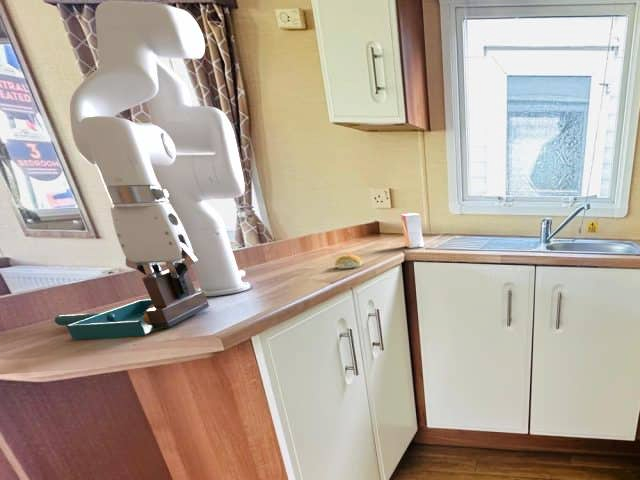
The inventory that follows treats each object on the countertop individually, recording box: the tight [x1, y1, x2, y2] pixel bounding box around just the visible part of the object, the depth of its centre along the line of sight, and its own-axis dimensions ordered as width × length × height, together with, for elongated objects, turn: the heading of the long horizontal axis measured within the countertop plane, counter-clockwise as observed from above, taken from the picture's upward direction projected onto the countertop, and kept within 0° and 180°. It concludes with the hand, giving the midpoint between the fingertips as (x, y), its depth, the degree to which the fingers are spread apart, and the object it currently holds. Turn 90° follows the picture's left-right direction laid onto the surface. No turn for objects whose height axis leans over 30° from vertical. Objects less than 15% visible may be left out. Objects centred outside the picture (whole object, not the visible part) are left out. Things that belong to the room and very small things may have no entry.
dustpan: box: [53, 299, 161, 341], centre depth 85 cm, size 22×19×3 cm
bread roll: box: [334, 253, 363, 270], centre depth 139 cm, size 8×9×4 cm
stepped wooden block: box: [141, 269, 210, 329], centre depth 84 cm, size 14×3×9 cm, turn 6°
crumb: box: [143, 313, 151, 325], centre depth 82 cm, size 3×3×3 cm
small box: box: [400, 213, 425, 249], centre depth 179 cm, size 8×6×13 cm
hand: (175, 297), depth 84 cm, fingers closed on stepped wooden block, 2 cm apart
